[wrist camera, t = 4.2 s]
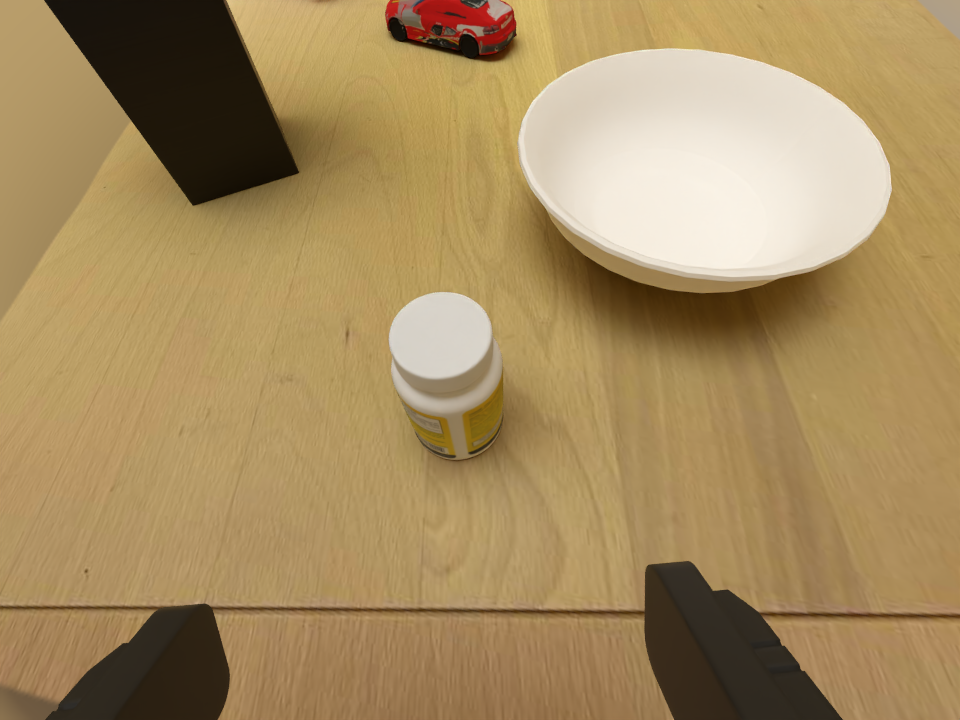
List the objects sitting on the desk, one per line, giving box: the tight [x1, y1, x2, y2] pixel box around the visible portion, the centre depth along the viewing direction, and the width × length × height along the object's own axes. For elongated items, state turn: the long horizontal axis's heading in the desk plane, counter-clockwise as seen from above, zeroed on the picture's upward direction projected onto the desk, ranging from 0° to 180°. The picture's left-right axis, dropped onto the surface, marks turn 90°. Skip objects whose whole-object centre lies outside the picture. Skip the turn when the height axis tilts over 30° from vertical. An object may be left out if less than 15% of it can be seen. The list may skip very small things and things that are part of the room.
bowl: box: [517, 49, 892, 293], centre depth 29 cm, size 20×20×6 cm
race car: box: [385, 0, 517, 58], centre depth 43 cm, size 13×5×4 cm, turn 61°
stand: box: [44, 0, 299, 205], centre depth 28 cm, size 8×8×20 cm
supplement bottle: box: [389, 292, 503, 460], centre depth 21 cm, size 5×5×8 cm
